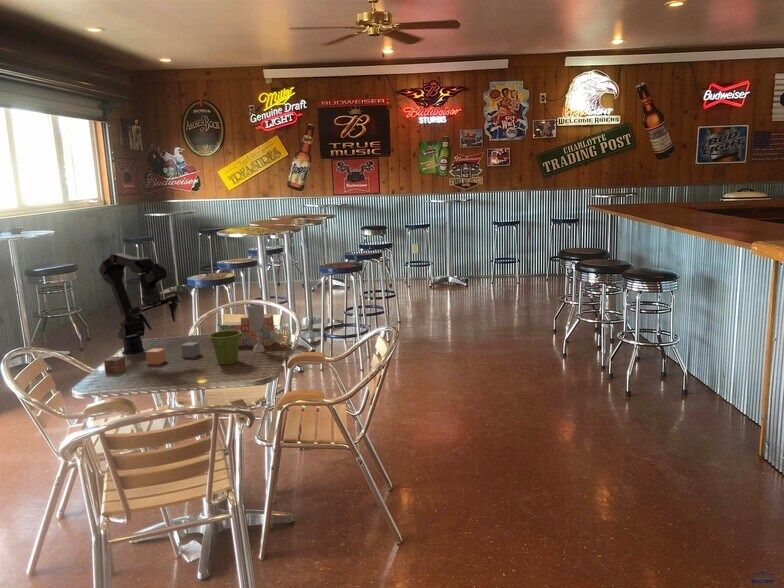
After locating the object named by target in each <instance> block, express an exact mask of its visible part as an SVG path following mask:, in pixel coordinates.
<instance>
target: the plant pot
mask: <svg viewBox="0 0 784 588" xmlns="http://www.w3.org/2000/svg"><path fill="white" fill-rule="evenodd" d="M240 334H241V331H238V330H225V331H221V330H220V331H215V332H212V333H210V334H209V335H208V337H209V338H210V341H211V343H212V346H213V350H214V354H215V356H216V357H215V358H216V359H217V363H218V364H219V365H221V366H225V365H233V364H236V363H237V362H238V360H239V347H240V346H239V339H240Z"/></svg>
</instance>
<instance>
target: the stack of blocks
mask: <svg viewBox="0 0 784 588" xmlns="http://www.w3.org/2000/svg"><path fill="white" fill-rule="evenodd" d="M274 322H275V321H274V314H265V313H264V321H263V324H262V327H261V329H259V334H260V335H259V338H260V341H259V342H260V344H262V345H263V347H267V346H268V347H269V346H272V345H273V344H274V343H275V342H276V338H275V323H274ZM219 326H220V327H219V329H220V331H225V330H238V331H241V334H240V339H239V347H254V346H255V345H257V340H256V338H257V336H256V330H255V329H253V327H252V326H251V324H250V322H249V319H248V314H244V315H243V316H241V317H240V321H225V322H223V323H222V324H220V325H219ZM251 345H252V346H251Z"/></svg>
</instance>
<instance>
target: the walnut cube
mask: <svg viewBox="0 0 784 588" xmlns="http://www.w3.org/2000/svg"><path fill="white" fill-rule="evenodd" d="M103 363H104V371H105V374H116V375H117V374H120V373H122V372H125V371H126V370H127V365H126V357H125V356H111V357H108V358H106V359H104V360H103Z"/></svg>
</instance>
